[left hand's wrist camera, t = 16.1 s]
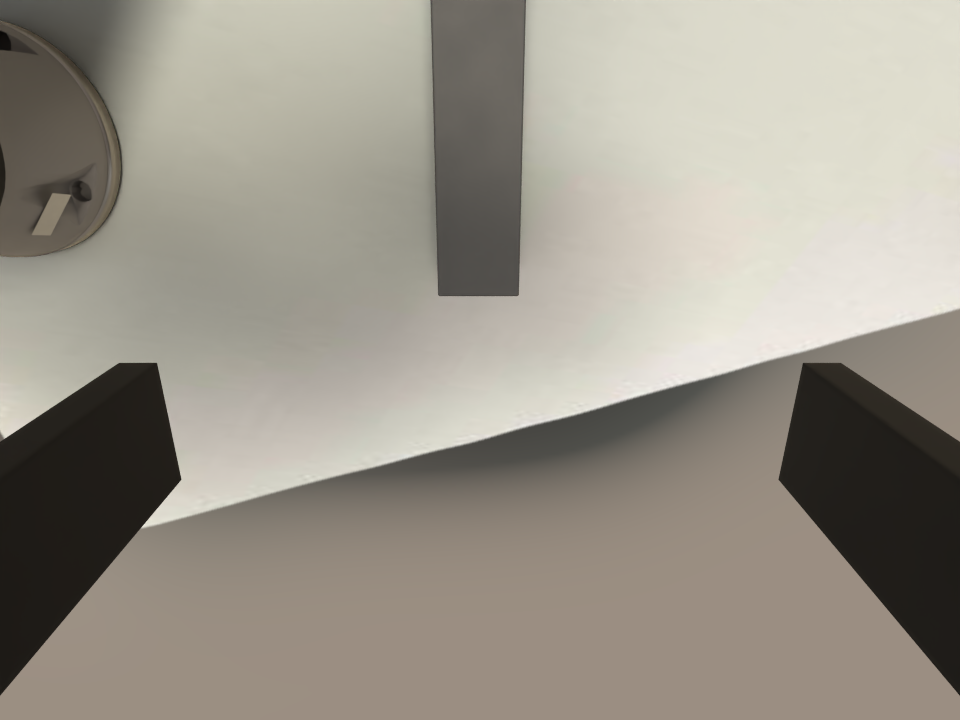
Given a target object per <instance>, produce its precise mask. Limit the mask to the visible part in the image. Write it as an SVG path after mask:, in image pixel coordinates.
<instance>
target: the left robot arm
mask: <svg viewBox="0 0 960 720" xmlns="http://www.w3.org/2000/svg"><path fill="white" fill-rule="evenodd" d="M120 175H121V161H120V151H119V145H118V140H117V136H116V133H115V129H114V126H113V123H112V121H111V118H110V116H109V113H108V111H107V109H106V107H105V105H104V103H103V101H102V100H101V98H100V96H99V94H98V93H97V91H96V90H95V88H94V87H93V85H92V84H91V83H90V81H89V80H88V79H87V77H86V76H85V75H84V74H83V72H82V71H81V70H80V69H79V68H78V67H77V66H76V65H75V64H74V63H73V62H72V61H71V60H70V59H69V58H68V57H67V56H66V55H65V54H63V53H62V52H61V51H60V50H58V49H57V48H56V47H55V46H53V45H52V44H50V43H49V42H47V41H46V40H44V39H43V38H41V37H39V36H38V35H36V34H34V33H32V32H30V31H28V30H26V29H24V28H21V27H19V26H16V25H13V24H11V23H8V22H4V21H0V256H5V257H31V256H40V255H46V254H49V253H53V252H56V251H59V250H63V249H66V248H69V247H71V246H74V245H76V244H78V243H80V242H82V241H83V240H85V239H86V238H88V237H89V236H90V235H92V234H93V233H94V232H95V231H96V230H97V229H98V228H99V227H100V226H101V225H102V223H103V222H104V221H105V219H106V218H107V216H108V215H109V213H110V211H111V209H112V207H113V205H114V202H115V199H116V197H117V193H118V189H119V184H120ZM180 481H181V475H180V471H179V466H178V461H177V456H176V452H175V447H174V442H173V437H172V432H171V428H170V423H169V418H168V413H167V409H166V404H165V399H164V394H163V390H162V385H161V380H160V375H159V371H158V366H157V363H118V364H117V365H115V366H114V367H112V368H111V369H109V370H108V371H106V372H105V373H103V374H102V375H100V376H99V377H97V378H96V379H94V380H93V381H91V382H90V383H88V384H87V385H85V386H84V387H82V388H81V389H79V390H78V391H76V392H75V393H73V394H72V395H70V396H69V397H67V398H66V399H64V400H63V401H61V402H60V403H58V404H57V405H55V406H54V407H52V408H51V409H49V410H48V411H46V412H45V413H43V414H42V415H40V416H39V417H37V418H35V419H34V420H32V421H31V422H29V423H28V424H26V425H25V426H23V427H22V428H20V429H19V430H17V431H16V432H14V433H13V434H11V435H10V436H8V437H7V438H5V439H4V440H2V441H1V442H0V695H1V694H2V693H3V692H4V690H5V689H6V688H7V687H8V686H9V684H10V683H11V682H12V681H13V680H14V678H15V677H16V676H17V675H18V674H19V672H20V671H21V670H22V669H23V668H24V667H25V665H26V664H27V663H28V662H29V660H30V659H31V658H32V657H33V656H34V655H35V653H36V652H37V651H38V650H39V649H40V647H41V646H42V645H43V644H44V643H45V641H46V640H47V639H48V638H49V637H50V636H51V634H52V633H53V632H54V631H55V630H56V628H57V627H58V626H59V625H60V624H61V622H62V621H63V620H64V619H65V618H66V616H67V615H68V614H69V613H70V612H71V610H72V609H73V608H74V607H75V606H76V605H77V603H78V602H79V601H80V600H81V599H82V597H83V596H84V595H85V594H86V593H87V591H88V590H89V589H90V588H91V587H92V585H93V584H94V583H95V582H96V581H97V580H98V578H99V577H100V576H101V575H102V574H103V572H104V571H105V570H106V569H107V568H108V566H109V565H110V564H111V563H112V562H113V560H114V559H115V558H116V557H117V556H118V555H119V553H120V552H121V551H122V550H123V549H124V547H125V546H126V545H127V544H128V543H129V541H130V540H131V539H132V538H133V537H134V535H135V534H136V533H137V532H138V531H139V530H140V528H141V527H142V526H143V525H144V524H145V522H146V521H147V520H148V519H149V518H150V516H151V515H152V514H153V513H154V512H155V510H156V509H157V508H158V507H159V506H160V504H161V503H162V502H163V501H164V500H165V499H166V497H167V496H168V495H169V494H170V493H171V491H172V490H173V489H174V488H175V487H176V485H177V484H178V483H179V482H180ZM779 481H780V482H781V483H782V484H783V485H784V487H785V488H786V489H787V490H788V491H789V493H790V494H791V495H792V496H793V497H794V498H795V500H796V501H797V502H798V503H799V504H800V506H801V507H802V508H803V509H804V510H805V512H806V513H807V514H808V515H809V516H810V518H811V519H812V520H813V521H814V522H815V524H816V525H817V526H818V527H819V528H820V529H821V531H822V532H823V533H824V534H825V535H826V537H827V538H828V539H829V540H830V541H831V543H832V544H833V545H834V546H835V547H836V549H837V550H838V551H839V552H840V553H841V555H842V556H843V557H844V558H845V559H846V560H847V562H848V563H849V564H850V565H851V566H852V568H853V569H854V570H855V571H856V572H857V574H858V575H859V576H860V577H861V578H862V580H863V581H864V582H865V583H866V584H867V586H868V587H869V588H870V589H871V590H872V591H873V593H874V594H875V595H876V596H877V597H878V599H879V600H880V601H881V602H882V603H883V605H884V606H885V607H886V608H887V609H888V611H889V612H890V613H891V614H892V615H893V616H894V618H895V619H896V620H897V621H898V622H899V624H900V625H901V626H902V627H903V628H904V629H905V631H906V632H907V633H908V634H909V636H910V637H911V638H912V639H913V640H914V641H915V643H916V644H917V645H918V646H919V647H920V649H921V650H922V651H923V652H924V653H925V655H926V656H927V657H928V658H929V659H930V661H931V662H932V663H933V664H934V665H935V666H936V668H937V669H938V670H939V671H940V672H941V674H942V675H943V676H944V677H945V678H946V680H947V681H948V682H949V683H950V684H951V686H952V687H953V688H954V689H955V690H956V692H957V693H958V694H959V695H960V442H959V441H958V440H956V439H955V438H953V437H952V436H950V435H949V434H947V433H946V432H944V431H943V430H941V429H940V428H938V427H937V426H935V425H934V424H932V423H931V422H929V421H928V420H926V419H924V418H923V417H921V416H920V415H918V414H917V413H915V412H914V411H912V410H911V409H909V408H908V407H906V406H905V405H903V404H902V403H900V402H899V401H897V400H896V399H894V398H893V397H891V396H890V395H888V394H887V393H885V392H884V391H882V390H881V389H879V388H878V387H876V386H875V385H873V384H872V383H870V382H869V381H867V380H866V379H864V378H863V377H861V376H860V375H858V374H857V373H855V372H854V371H852V370H850V369H849V368H848V367H846V366H845V365H843V364H841V363H803V366H802V371H801V375H800V380H799V385H798V390H797V394H796V399H795V404H794V409H793V413H792V418H791V423H790V428H789V433H788V438H787V442H786V447H785V452H784V456H783V461H782V466H781V471H780V475H779Z"/></svg>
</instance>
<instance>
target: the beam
mask: <svg viewBox="0 0 960 720" xmlns="http://www.w3.org/2000/svg"><path fill="white" fill-rule="evenodd" d="M525 11H526V0H431V30H432V69H433V108H434V147H435V186H436V225H437V264H438V295H439V296H518V295H519V258H520V217H521V176H522V135H523V94H524V52H525Z"/></svg>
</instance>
